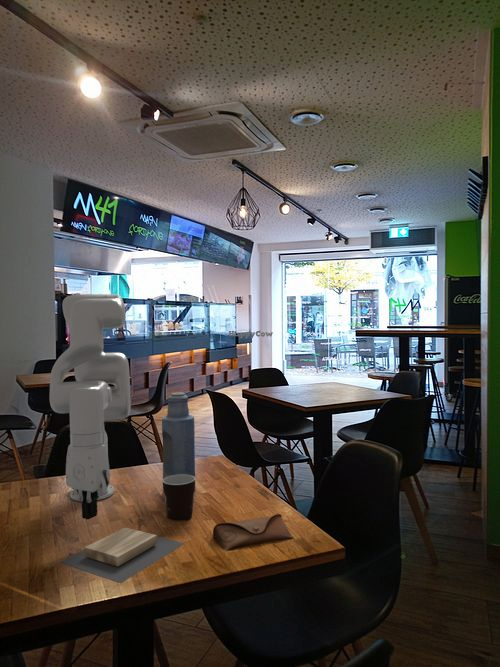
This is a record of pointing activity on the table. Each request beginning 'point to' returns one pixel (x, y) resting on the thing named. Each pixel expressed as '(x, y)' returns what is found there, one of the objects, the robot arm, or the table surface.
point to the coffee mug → (179, 496)
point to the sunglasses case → (250, 532)
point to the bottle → (178, 437)
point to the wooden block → (120, 546)
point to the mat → (126, 568)
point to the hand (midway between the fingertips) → (89, 516)
